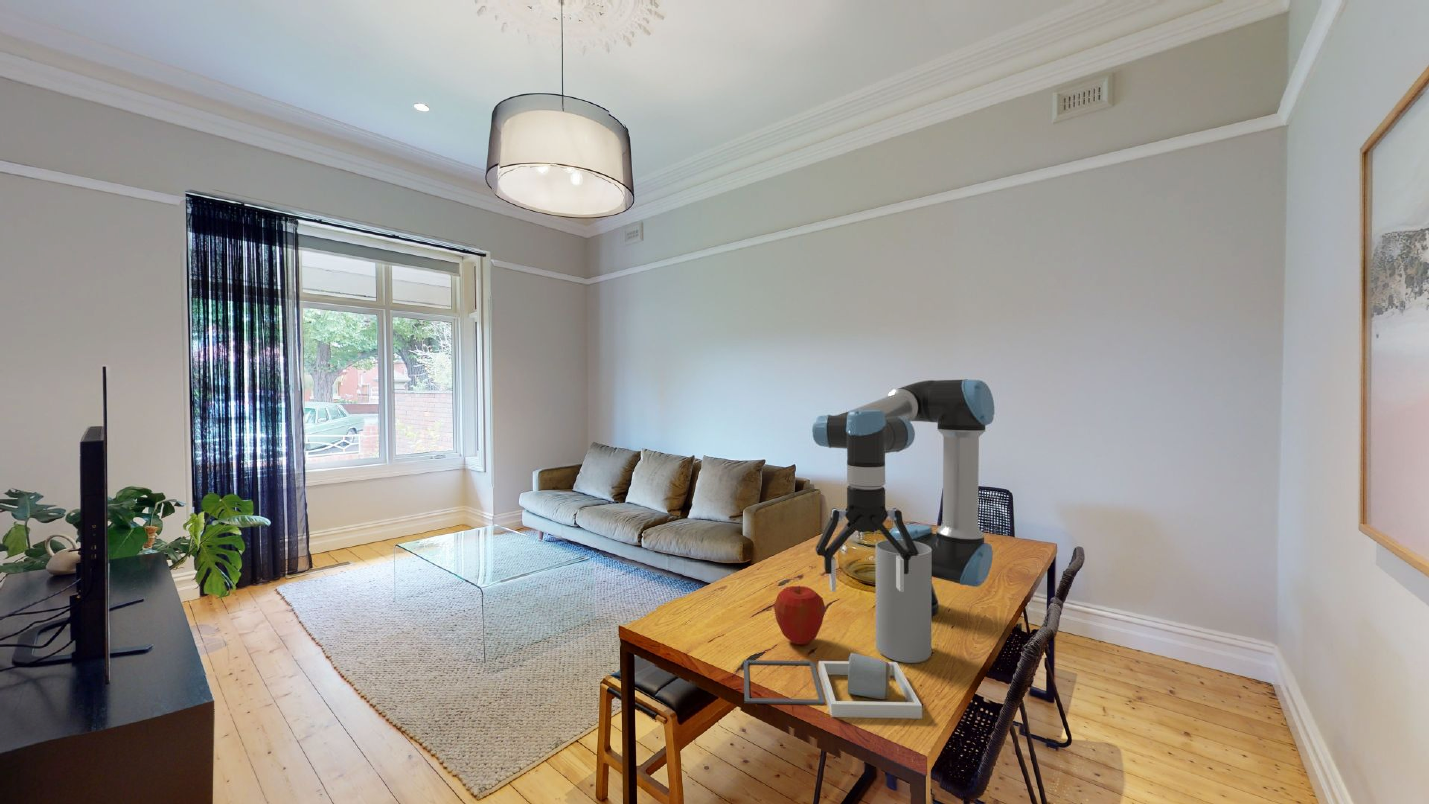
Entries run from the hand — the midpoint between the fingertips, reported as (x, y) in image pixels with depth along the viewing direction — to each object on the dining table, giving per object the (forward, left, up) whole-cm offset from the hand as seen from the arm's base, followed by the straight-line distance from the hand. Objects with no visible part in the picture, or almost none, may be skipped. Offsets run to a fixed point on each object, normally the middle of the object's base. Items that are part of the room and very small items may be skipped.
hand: (866, 589), depth 108 cm
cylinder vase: (-13, -18, -22) cm, 31 cm away
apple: (+11, -22, -22) cm, 33 cm away
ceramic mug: (0, -1, -22) cm, 22 cm away
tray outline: (+17, -4, -22) cm, 28 cm away
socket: (0, -1, -22) cm, 22 cm away
